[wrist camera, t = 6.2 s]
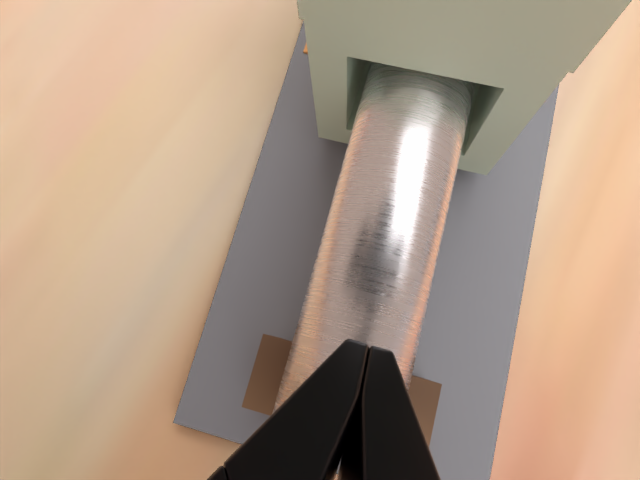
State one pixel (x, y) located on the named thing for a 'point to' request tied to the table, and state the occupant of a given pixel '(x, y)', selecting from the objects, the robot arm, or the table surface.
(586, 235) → the table surface
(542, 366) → the table surface
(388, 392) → the robot arm
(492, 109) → the pale green stepped block
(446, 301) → the pipe rig
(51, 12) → the table surface
